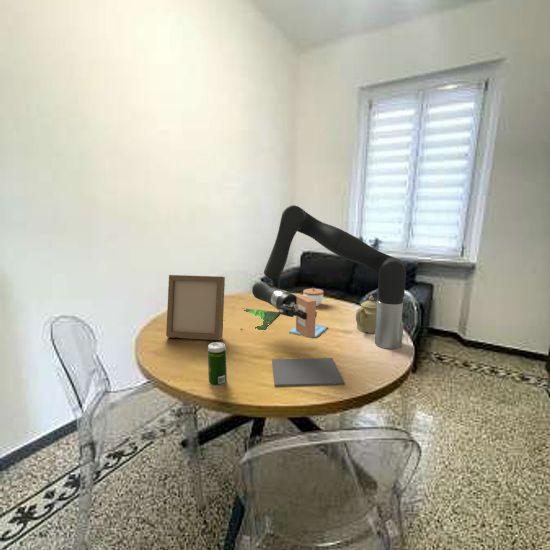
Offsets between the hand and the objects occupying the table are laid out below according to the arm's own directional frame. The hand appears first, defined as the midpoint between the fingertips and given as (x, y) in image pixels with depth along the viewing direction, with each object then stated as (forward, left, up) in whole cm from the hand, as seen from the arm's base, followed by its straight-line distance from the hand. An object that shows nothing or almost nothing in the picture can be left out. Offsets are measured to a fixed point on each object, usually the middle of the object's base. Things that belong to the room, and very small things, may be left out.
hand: (310, 315), depth 110 cm
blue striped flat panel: (-5, -34, -19) cm, 39 cm away
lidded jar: (-13, -71, -18) cm, 74 cm away
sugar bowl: (-31, -33, -18) cm, 48 cm away
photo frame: (+41, -32, -18) cm, 55 cm away
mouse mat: (+20, -49, -19) cm, 56 cm away
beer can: (+29, +8, -18) cm, 35 cm away
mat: (+2, +3, -18) cm, 18 cm away
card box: (+1, -3, -7) cm, 8 cm away
